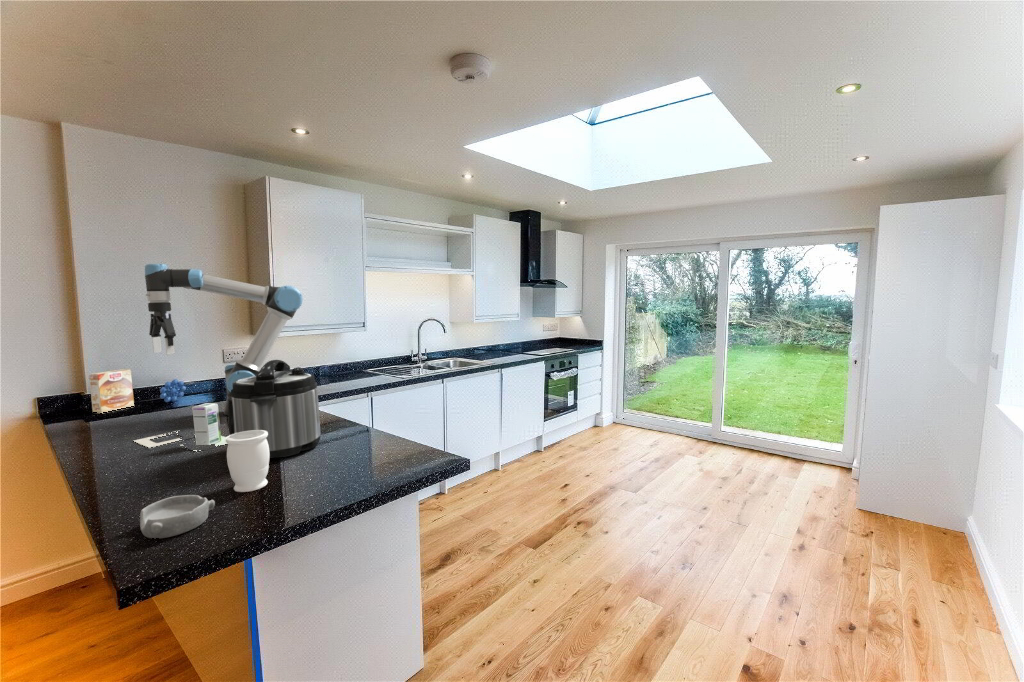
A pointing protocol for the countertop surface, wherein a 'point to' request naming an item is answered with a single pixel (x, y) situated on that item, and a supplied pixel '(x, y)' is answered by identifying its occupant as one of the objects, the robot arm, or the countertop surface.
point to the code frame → (149, 444)
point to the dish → (174, 515)
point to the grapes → (172, 390)
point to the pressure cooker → (277, 408)
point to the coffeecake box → (111, 390)
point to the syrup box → (206, 424)
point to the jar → (248, 459)
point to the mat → (222, 442)
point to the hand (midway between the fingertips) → (164, 353)
